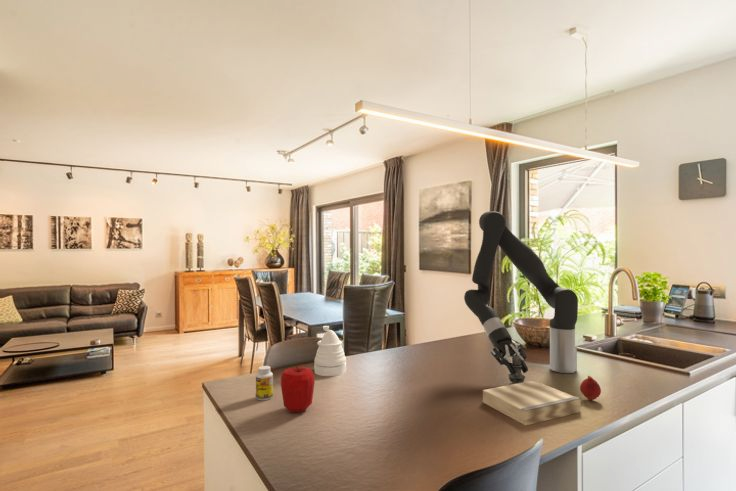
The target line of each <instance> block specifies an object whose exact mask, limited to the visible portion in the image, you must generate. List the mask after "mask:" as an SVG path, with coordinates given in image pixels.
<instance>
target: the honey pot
mask: <svg viewBox="0 0 736 491" xmlns="http://www.w3.org/2000/svg"><path fill="white" fill-rule="evenodd" d="M322 330H323V331H324V332H325V333H324V334H323V336H322V338H321V339H320V340H318V341H317V346H318V349H316V354H315V357H314V362H313V363H314V372H313V373H314V374H316V375H317V376H323V377H336V376H341V375H344V374H345V373H346V372H347V357H346V355H345V351H344V349H343V346H342V343H343V342H342V340H341V339H340V338H339V337H338V334H336V332H335V330H332V329H330V325H323V326H322Z"/></svg>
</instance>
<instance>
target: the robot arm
mask: <svg viewBox="0 0 736 491" xmlns="http://www.w3.org/2000/svg"><path fill="white" fill-rule="evenodd" d="M478 224H479V229H481V230H482V242H481V246H480V249H479V253H478V254H477V257H476V260H475V263H474V267H473V273H472V276H471V282H472V283H474V284H475V285H477V289H468V290H466V291H465V293H464V295H463V299H464V303H465V305H466V306H467V308H468V309H469V310H470V311H471V312H472V313H473V314H474V316H476V317H477V319H478V320H479V322H480V324H481V326H482V327H483V329H484V332H485V334H486V336H487V338H488V339H489V341H490V343H491V345H492V346H493V349H491V351H490V354H491V355H492V356H493V357H494V358H495V360H496V361H497V362H498V363H499V365H500V366H502V365H504V366H505V367H506V368H507V369H508V372H509V374H512V375H515V374H516V373H517V371H516V369H515V367H514V366H513V364H512V362H511V361H512V360H511V358H512V357H513V356H514V355H516V353H517V355H519V356H520V357H521V365H522V367H521V372H523V374H526V373H527V372H528V371H529V368H528V365H527V364H526V362H525V360H526V359H527V354H526V353H525V350H524V346H523V345H522V344H521V343H520V344H518V345H517V344H515V342H513V340H512V335H511V334H510V332H509V330H508V329H507V328H506V325H505V324H504V322H503V321H502V320H501V319H500V317H499V315H498V314H497V313H496V311H495V309H494V308H493V307H492V306H489V305H488V304H489V303H490V300H491V282H490V281H491V277H492V272H493V267H494V261H495V257H496V253H497V249H498V247H499V248H500V249H501V250H502V252H503V253H504V254H505V256H506V257H507V258H508V259H509V261H510V262H511V263H512V264H513V265H514V266H515V268H516V269H517V270H518V271H519V272H520V273H521V274H522V275H523V276H524V277H525V279H527V281H529V282H530V283H531V284H532V285H533V286H534V287H535V288H536V290H537V291H538V292H539V293H540V294H541V297H542V298H543V299H544V301H545V302H546V303H547V304H548V306H549V307H551V308H552V309H554V315H553V318H551V319H550V320H549V369H550V370H551V371H553V372H557V373H560V374H574V373H576V371H577V370H578V356H577V355H578V348H577V346H576V323H577V322H578V316H579V315H578V311H579V300H578V296H577V294H576V292H575V291H573V289H569V288H566V287H561V286H560V285H559V284H558V283H557V282H556V281H555V280H554V279H553V278H552V277H551V276H550V275H549V273H548V272H547V269H546V266H545V265H544V263H543V260H542V259H541V258H540V257H539V255H537V253H536V252H535V251H534V250H533V249H532V248H531V247H530V246H528V245H527V244H526V243H525V242H524V241H523V240H522V239H520V238H519V237H517V236H516V235H515V234H514V233H513V232H512V231H511V230H510V229H509V227H508V226H507V225H506V224H507V222H506V218H505V216H504V214H502V213H501V212H499V211H494V210H493V211H485V212H484V213H482V214H481V215H480V217H479V219H478Z"/></svg>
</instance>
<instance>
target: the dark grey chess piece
mask: <svg viewBox="0 0 736 491" xmlns="http://www.w3.org/2000/svg"><path fill="white" fill-rule="evenodd" d="M511 361H512V362H511V363H512V364H513V366H514V367H515V369H516V371H517V373H516V374H515V375H512V374H511V373H509V374H507V377H508V379H509V381H510V383H508V385H512V384H517V383H523V382H525V379H526V375H525V374H522V370H521V367H522V365H521V357H520V356H519V355H517V353H515V354H514V356H513V357H511Z"/></svg>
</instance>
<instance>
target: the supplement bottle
mask: <svg viewBox="0 0 736 491" xmlns="http://www.w3.org/2000/svg"><path fill="white" fill-rule="evenodd" d="M257 371H258V372H256V374H255V399H256V400H259V401H269V400H271V399H272V398H273V396H274V389H273V388H274V374H273V372H272V371H271V366H269V365H261V366H259V367H258V368H257Z"/></svg>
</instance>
